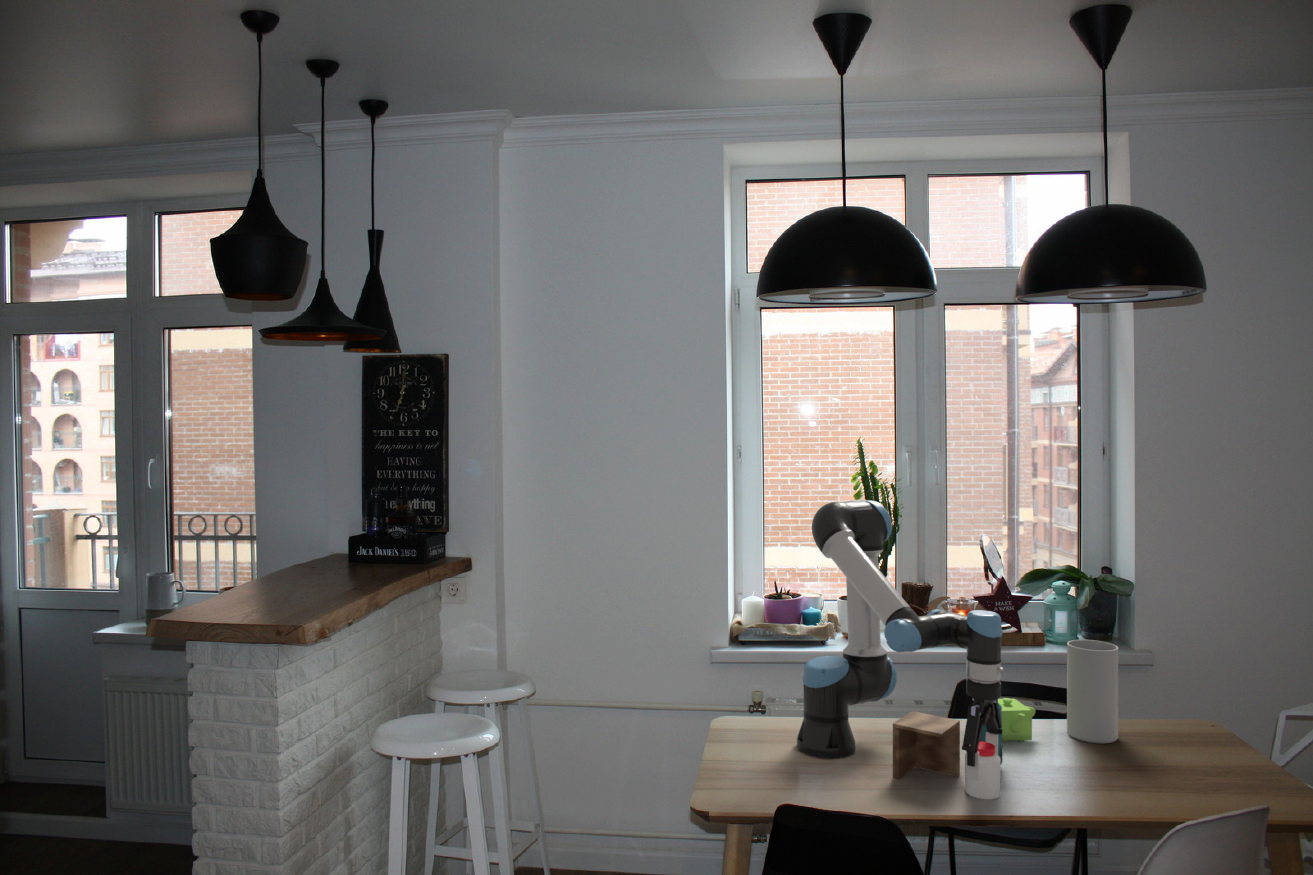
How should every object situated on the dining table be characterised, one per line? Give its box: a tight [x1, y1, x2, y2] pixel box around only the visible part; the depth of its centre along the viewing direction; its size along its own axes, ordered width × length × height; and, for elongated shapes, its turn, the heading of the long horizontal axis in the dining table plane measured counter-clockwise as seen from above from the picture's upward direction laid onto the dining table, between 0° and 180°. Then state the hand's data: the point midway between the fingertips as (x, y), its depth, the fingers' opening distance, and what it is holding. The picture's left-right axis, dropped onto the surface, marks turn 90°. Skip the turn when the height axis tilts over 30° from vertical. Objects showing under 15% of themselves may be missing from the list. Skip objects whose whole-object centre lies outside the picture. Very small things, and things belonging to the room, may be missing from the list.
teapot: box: [998, 697, 1036, 743], centre depth 242 cm, size 15×13×11 cm
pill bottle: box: [964, 741, 1002, 800], centre depth 206 cm, size 8×8×11 cm
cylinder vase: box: [1066, 639, 1119, 744], centre depth 242 cm, size 12×12×25 cm
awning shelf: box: [892, 710, 961, 781], centre depth 215 cm, size 12×12×13 cm
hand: (982, 770), depth 206 cm, fingers open, 13 cm apart
